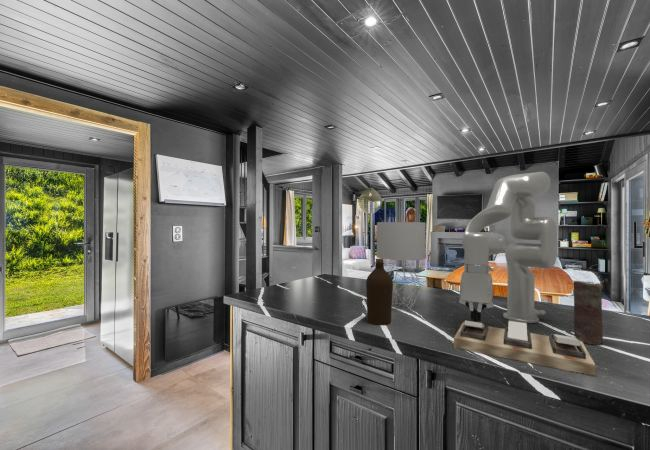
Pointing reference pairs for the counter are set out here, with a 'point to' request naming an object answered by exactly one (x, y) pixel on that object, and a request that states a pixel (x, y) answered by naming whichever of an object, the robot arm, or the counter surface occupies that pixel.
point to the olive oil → (379, 295)
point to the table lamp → (401, 247)
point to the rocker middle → (517, 331)
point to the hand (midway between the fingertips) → (475, 322)
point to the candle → (588, 312)
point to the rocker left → (475, 324)
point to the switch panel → (525, 348)
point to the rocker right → (566, 340)
